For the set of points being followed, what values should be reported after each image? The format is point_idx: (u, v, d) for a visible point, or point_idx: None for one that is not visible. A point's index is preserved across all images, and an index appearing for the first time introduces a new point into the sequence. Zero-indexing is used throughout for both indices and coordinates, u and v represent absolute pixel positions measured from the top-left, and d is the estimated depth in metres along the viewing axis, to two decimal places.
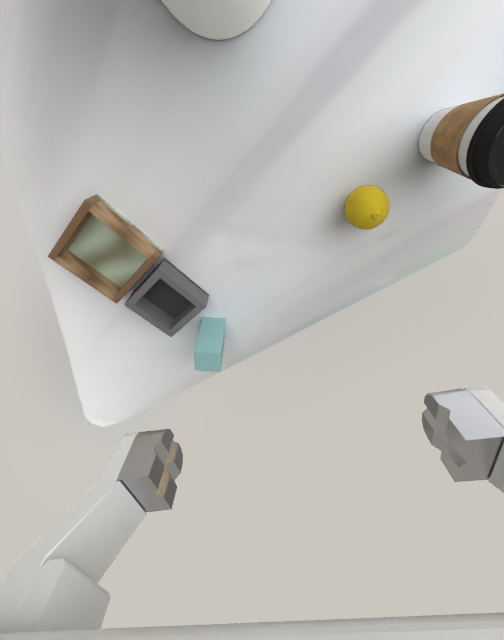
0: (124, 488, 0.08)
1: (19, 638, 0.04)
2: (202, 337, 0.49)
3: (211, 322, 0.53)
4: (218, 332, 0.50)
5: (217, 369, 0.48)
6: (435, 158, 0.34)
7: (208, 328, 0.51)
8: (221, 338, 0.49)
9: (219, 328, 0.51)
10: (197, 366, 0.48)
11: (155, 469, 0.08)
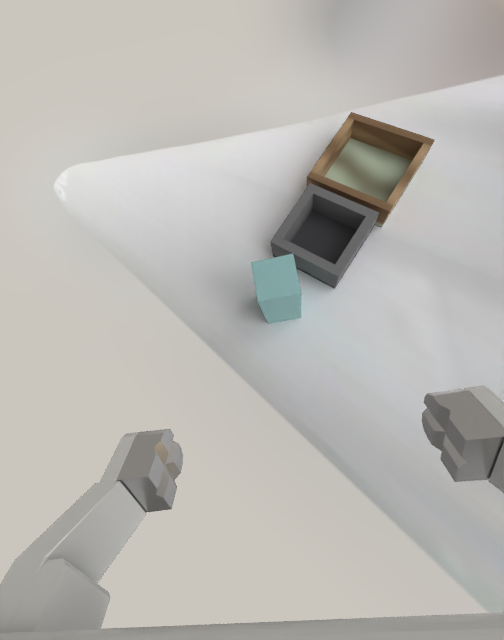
0: (124, 488, 0.08)
1: (19, 638, 0.04)
2: None
3: None
4: None
5: (260, 295, 0.28)
6: None
7: None
8: (300, 302, 0.31)
9: None
10: (261, 263, 0.29)
11: (155, 469, 0.08)
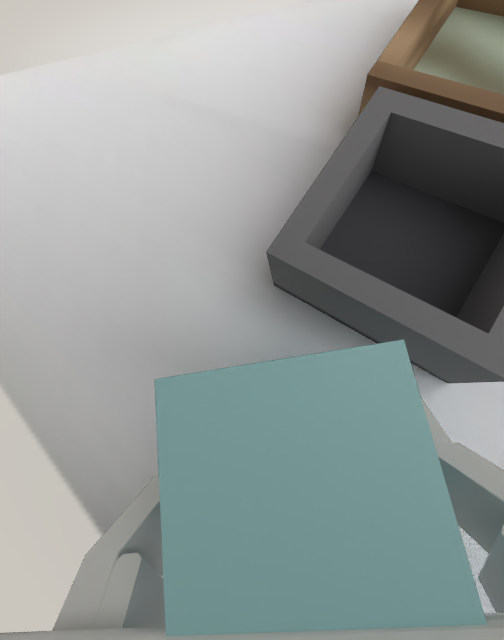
0: None
1: (19, 638, 0.04)
2: None
3: None
4: None
5: None
6: None
7: None
8: None
9: None
10: (208, 394, 0.05)
11: None
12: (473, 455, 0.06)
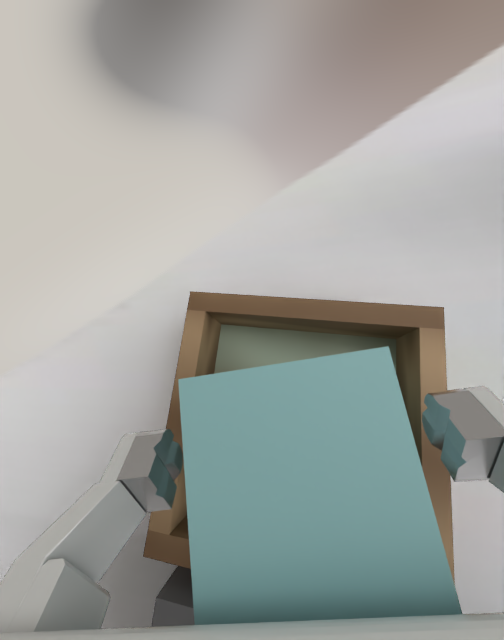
0: (124, 488, 0.08)
1: (19, 638, 0.04)
2: None
3: None
4: None
5: (215, 595, 0.05)
6: None
7: None
8: None
9: None
10: (224, 391, 0.06)
11: (155, 469, 0.08)
12: None
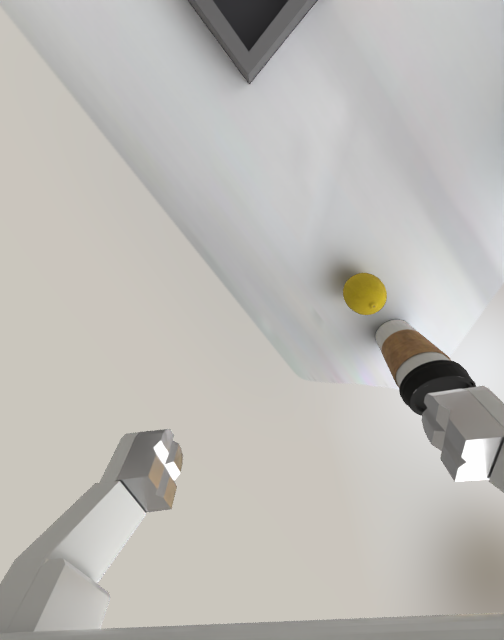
0: (124, 488, 0.08)
1: (19, 638, 0.04)
2: None
3: None
4: None
5: None
6: (395, 336, 0.42)
7: None
8: None
9: None
10: None
11: (155, 469, 0.08)
12: None
